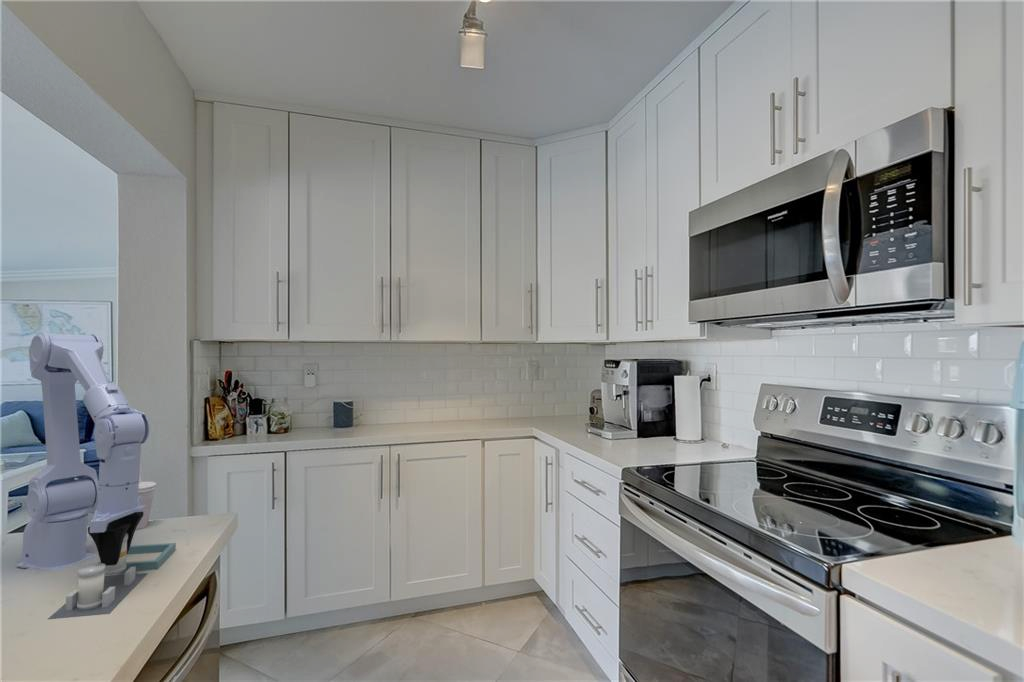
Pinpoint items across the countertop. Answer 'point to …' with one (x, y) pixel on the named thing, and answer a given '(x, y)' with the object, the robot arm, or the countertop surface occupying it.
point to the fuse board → (103, 595)
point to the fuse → (90, 586)
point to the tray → (150, 548)
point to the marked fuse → (121, 562)
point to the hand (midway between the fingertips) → (114, 560)
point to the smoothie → (145, 500)
